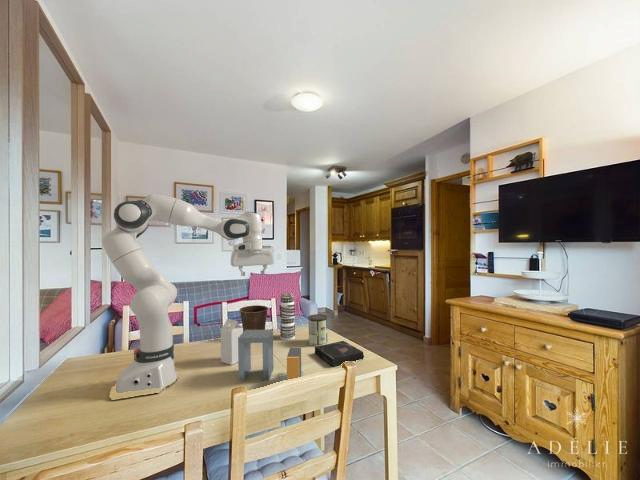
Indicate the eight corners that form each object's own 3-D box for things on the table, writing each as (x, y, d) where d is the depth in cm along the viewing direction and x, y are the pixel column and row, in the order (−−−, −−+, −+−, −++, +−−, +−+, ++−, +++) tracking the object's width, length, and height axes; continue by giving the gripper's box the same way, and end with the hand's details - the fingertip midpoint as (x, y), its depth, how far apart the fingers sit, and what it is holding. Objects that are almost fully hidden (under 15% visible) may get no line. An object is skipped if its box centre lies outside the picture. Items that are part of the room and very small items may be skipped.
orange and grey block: (299, 387, 106) (298, 357, 106) (287, 387, 106) (286, 357, 106) (302, 370, 120) (301, 344, 120) (291, 370, 120) (291, 344, 120)
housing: (268, 380, 112) (268, 337, 112) (238, 380, 113) (238, 337, 113) (273, 369, 122) (272, 329, 122) (245, 369, 123) (245, 329, 123)
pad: (288, 388, 106) (288, 387, 106) (278, 377, 115) (278, 376, 115) (311, 382, 111) (311, 380, 111) (301, 371, 120) (301, 370, 120)
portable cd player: (364, 360, 131) (363, 351, 131) (332, 368, 123) (332, 359, 123) (344, 348, 146) (344, 340, 146) (314, 355, 138) (314, 347, 138)
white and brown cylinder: (296, 334, 166) (295, 292, 166) (295, 340, 157) (294, 295, 157) (280, 334, 166) (280, 292, 166) (278, 340, 157) (278, 295, 157)
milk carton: (233, 356, 136) (232, 317, 136) (243, 359, 133) (243, 319, 133) (221, 362, 130) (220, 320, 130) (231, 365, 127) (231, 322, 126)
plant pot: (272, 337, 162) (272, 309, 162) (244, 343, 153) (244, 313, 153) (262, 330, 176) (262, 304, 176) (236, 335, 167) (236, 307, 167)
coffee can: (315, 338, 160) (314, 313, 160) (331, 341, 155) (330, 315, 155) (304, 344, 151) (304, 317, 151) (321, 347, 146) (320, 320, 146)
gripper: (271, 245, 143) (271, 272, 143) (229, 246, 133) (230, 275, 133) (275, 245, 137) (276, 274, 137) (232, 246, 128) (232, 277, 128)
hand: (253, 275), depth 135 cm, fingers open, 8 cm apart
